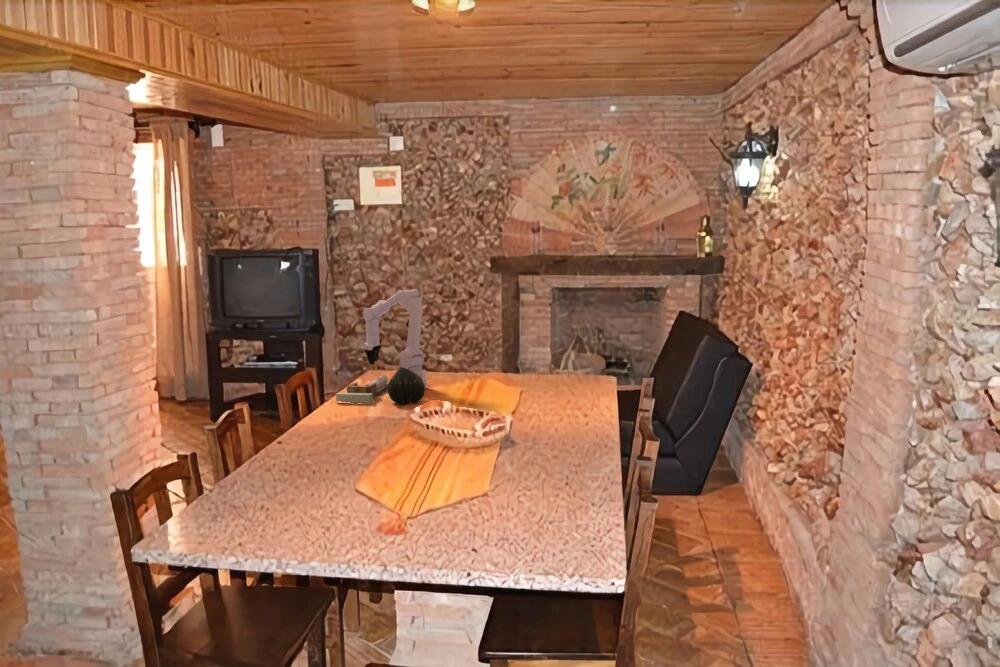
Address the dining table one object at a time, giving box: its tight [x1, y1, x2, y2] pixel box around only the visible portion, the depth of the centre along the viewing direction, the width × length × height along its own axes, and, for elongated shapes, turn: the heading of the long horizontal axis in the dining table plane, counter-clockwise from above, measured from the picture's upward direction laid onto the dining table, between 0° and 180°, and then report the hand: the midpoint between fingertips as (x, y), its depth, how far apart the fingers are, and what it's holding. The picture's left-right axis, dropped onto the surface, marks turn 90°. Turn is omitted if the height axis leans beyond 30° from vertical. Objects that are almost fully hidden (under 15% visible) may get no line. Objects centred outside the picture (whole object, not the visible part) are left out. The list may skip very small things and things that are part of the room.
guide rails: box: [364, 380, 388, 397], centre depth 340 cm, size 10×24×2 cm, turn 168°
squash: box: [387, 367, 426, 405], centre depth 314 cm, size 14×15×15 cm
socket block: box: [346, 382, 378, 400], centre depth 323 cm, size 10×8×6 cm
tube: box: [366, 374, 389, 390], centre depth 340 cm, size 5×5×25 cm
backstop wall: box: [335, 392, 374, 405], centre depth 315 cm, size 15×2×4 cm, turn 78°
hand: (373, 362), depth 353 cm, fingers open, 7 cm apart
